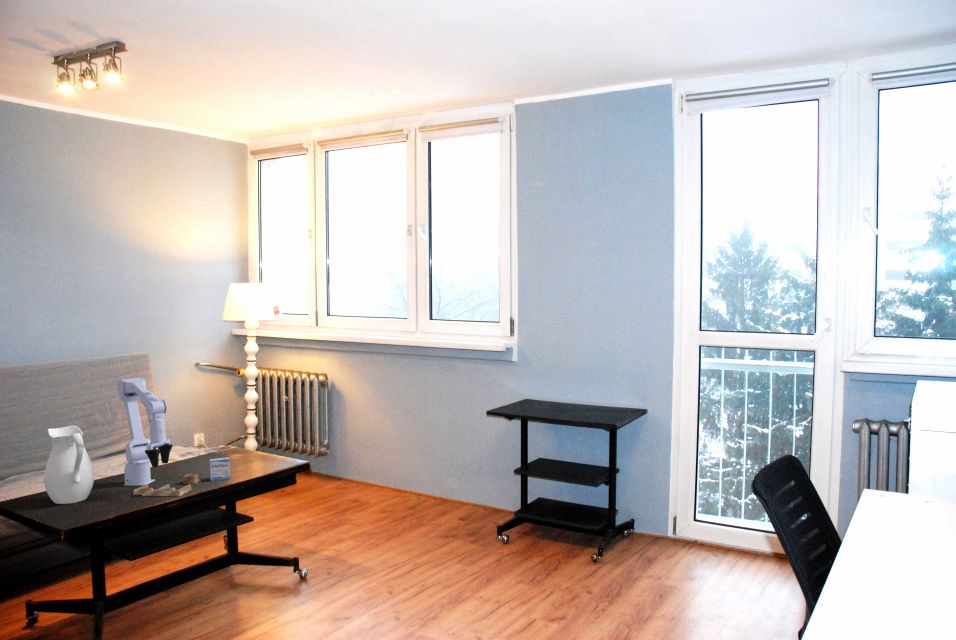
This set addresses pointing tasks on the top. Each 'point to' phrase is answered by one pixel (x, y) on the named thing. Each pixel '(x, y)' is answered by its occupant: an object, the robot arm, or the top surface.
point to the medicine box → (219, 468)
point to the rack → (161, 491)
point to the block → (191, 478)
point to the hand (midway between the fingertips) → (160, 465)
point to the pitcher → (68, 467)
